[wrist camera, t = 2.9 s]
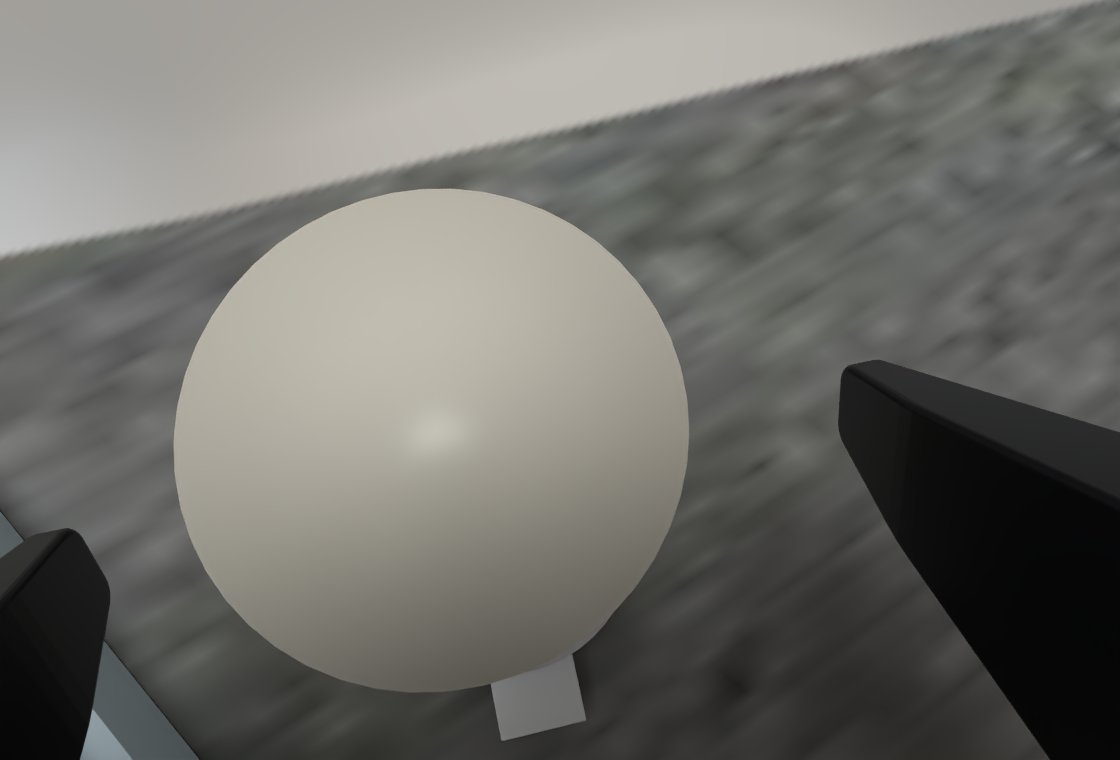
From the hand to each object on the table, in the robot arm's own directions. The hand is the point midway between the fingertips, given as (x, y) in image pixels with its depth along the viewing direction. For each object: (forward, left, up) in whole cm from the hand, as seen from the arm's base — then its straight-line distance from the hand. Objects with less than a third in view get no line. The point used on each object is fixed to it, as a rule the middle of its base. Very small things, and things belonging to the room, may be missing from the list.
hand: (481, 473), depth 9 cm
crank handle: (0, 0, -8) cm, 8 cm away
